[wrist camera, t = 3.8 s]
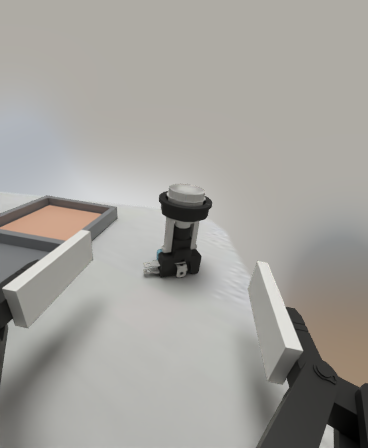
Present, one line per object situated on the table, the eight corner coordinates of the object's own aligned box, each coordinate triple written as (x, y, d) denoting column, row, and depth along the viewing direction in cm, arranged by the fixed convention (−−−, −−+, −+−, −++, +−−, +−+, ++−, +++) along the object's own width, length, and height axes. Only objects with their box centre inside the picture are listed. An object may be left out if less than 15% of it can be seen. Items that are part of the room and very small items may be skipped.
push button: (148, 292, 20) (154, 199, 16) (138, 261, 25) (140, 181, 20) (206, 280, 23) (224, 197, 19) (188, 254, 27) (199, 182, 23)
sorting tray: (-219, 328, 13) (-243, 307, 13) (48, 206, 35) (46, 195, 35) (-49, 368, 13) (-63, 348, 12) (117, 217, 35) (116, 207, 34)
